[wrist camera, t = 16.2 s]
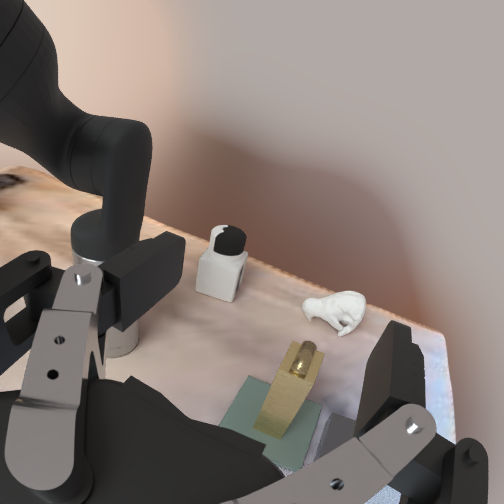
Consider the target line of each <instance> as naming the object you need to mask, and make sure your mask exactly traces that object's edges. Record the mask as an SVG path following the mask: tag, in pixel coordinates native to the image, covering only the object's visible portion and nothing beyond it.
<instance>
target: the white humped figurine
mask: <svg viewBox="0 0 504 504" xmlns="http://www.w3.org/2000/svg"><path fill="white" fill-rule="evenodd" d="M365 309H366V299H365V297H364V295H362V294H360V293H358V292H354V291H344V292H337V293H335V294H333V295H328V296H327V297H325V298H321V299H319V298H308V299H306V300H305V301H304V303H303V305H302V310H303V311H304V313H305V316H306V317H307V318H308V320H309V319H310V320H311V318H313V317H314V316H315V317H320V318H322V319H323V320H325V321H327V322H328V323H329V324H330V325H332V326H333V327H334V328H335V329H337V330H339V332H338V336H339V337H341V336H344V335H346V334H347V333H350V332H351V331H352V330H354V329H355V328H356V326H357V325H358V324H359V323H360V322H361V320H362V318H363V316H364V314H365ZM310 320H309V321H310ZM339 321H341V322H342V323H343V324H345V325H346V326H344V327H342V326H341V324H340V323H339Z"/></svg>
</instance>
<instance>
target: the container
mask: <svg viewBox="0 0 504 504" xmlns="http://www.w3.org/2000/svg"><path fill="white" fill-rule="evenodd" d="M245 242H246V234H245V233H244V232H243V231H242V230H241V229H239V228H237V227H234V226H230V225H220V226H216V227H215V228H213V229H212V231H211V237H210V243H209V247H208V248H207V250H206V251H205V252H204V253H203V255H202V256H201V257H200V259H199V265H198V272H197V279H196V286H195V291H196V292H199V293H202V294H205V295H208V296H211V297H214V298H217V299H221V300H224V301H227V302H230V303H231V302H232V301H233V299H234V297H235V295H236V293H237V291H238V289H239V287H240V285H241V282H242V278H243V274H244V270H245V265H246V261H247V257H248V252H245V251H244V246H245Z"/></svg>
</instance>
